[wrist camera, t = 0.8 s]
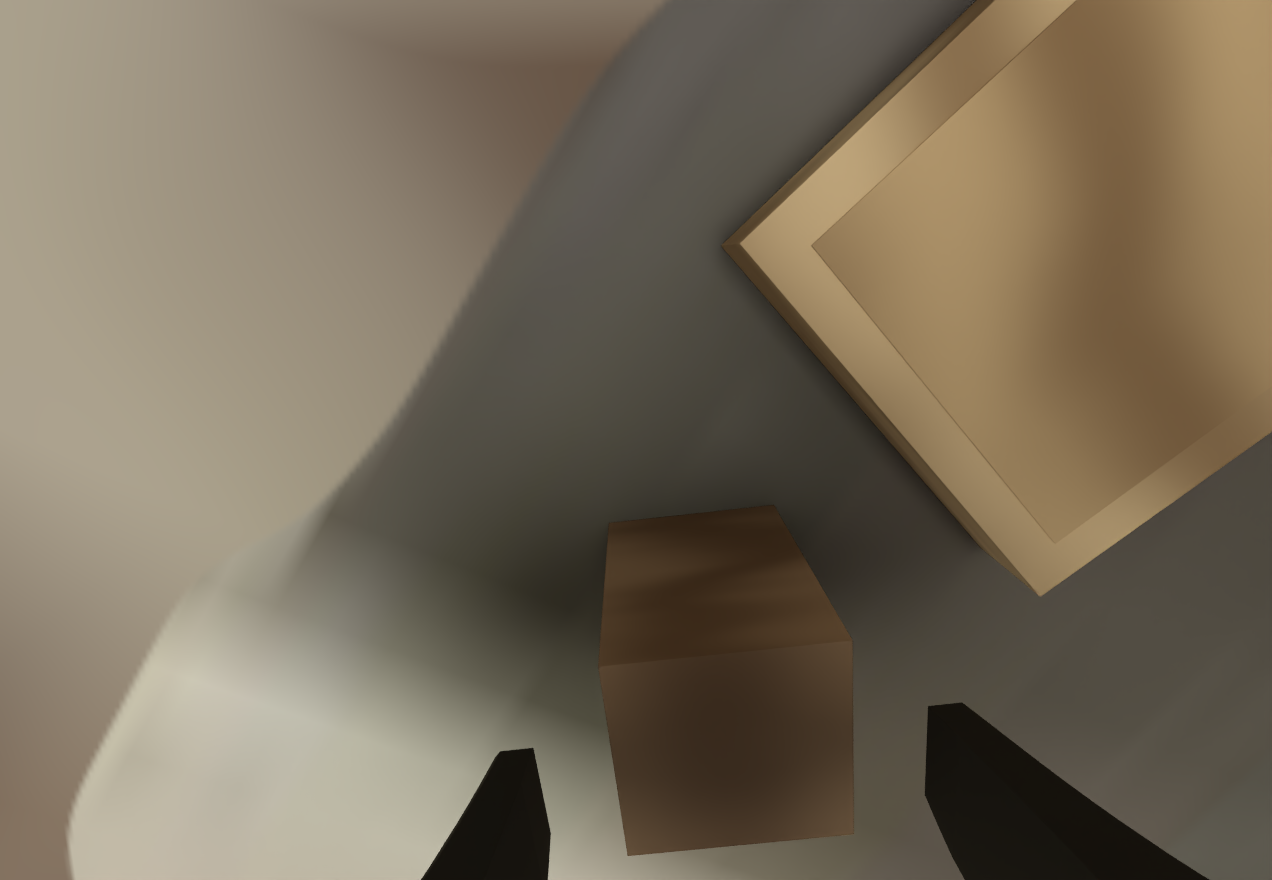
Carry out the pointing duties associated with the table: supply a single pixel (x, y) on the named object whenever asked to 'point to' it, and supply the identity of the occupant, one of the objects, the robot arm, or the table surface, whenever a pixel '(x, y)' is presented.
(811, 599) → the walnut block
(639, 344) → the table surface
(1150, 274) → the oak plinth
